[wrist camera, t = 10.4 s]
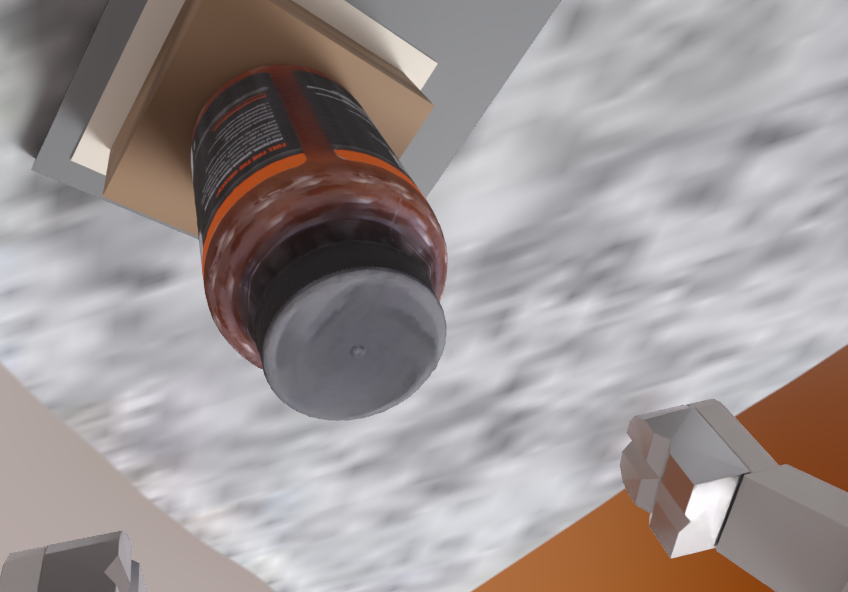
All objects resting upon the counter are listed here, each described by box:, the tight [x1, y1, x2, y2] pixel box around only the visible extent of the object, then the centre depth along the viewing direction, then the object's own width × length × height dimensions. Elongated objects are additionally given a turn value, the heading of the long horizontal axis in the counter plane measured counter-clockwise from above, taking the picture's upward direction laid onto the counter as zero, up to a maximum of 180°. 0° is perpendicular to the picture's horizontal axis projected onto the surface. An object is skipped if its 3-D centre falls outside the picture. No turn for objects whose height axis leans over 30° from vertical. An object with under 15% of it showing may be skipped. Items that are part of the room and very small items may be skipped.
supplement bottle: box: [191, 64, 447, 421], centre depth 19 cm, size 6×6×11 cm
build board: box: [31, 0, 561, 239], centre depth 27 cm, size 18×14×1 cm
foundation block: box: [103, 0, 434, 236], centre depth 25 cm, size 8×8×4 cm
